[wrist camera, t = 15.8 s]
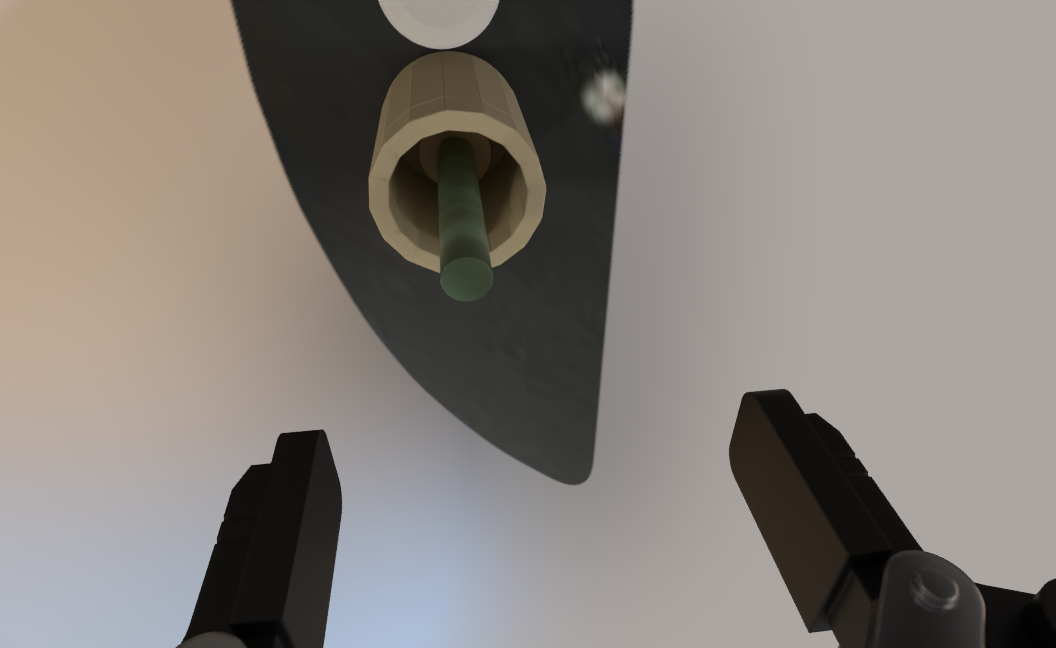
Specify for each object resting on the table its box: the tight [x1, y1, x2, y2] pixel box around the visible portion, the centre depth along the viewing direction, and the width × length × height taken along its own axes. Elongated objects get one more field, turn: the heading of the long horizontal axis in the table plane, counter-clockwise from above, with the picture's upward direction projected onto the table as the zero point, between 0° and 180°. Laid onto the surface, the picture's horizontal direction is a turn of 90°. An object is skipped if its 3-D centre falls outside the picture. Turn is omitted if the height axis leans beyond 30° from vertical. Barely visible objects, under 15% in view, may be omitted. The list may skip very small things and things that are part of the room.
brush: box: [418, 130, 493, 301], centre depth 31 cm, size 4×4×18 cm
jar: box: [369, 51, 546, 273], centre depth 34 cm, size 8×8×11 cm
